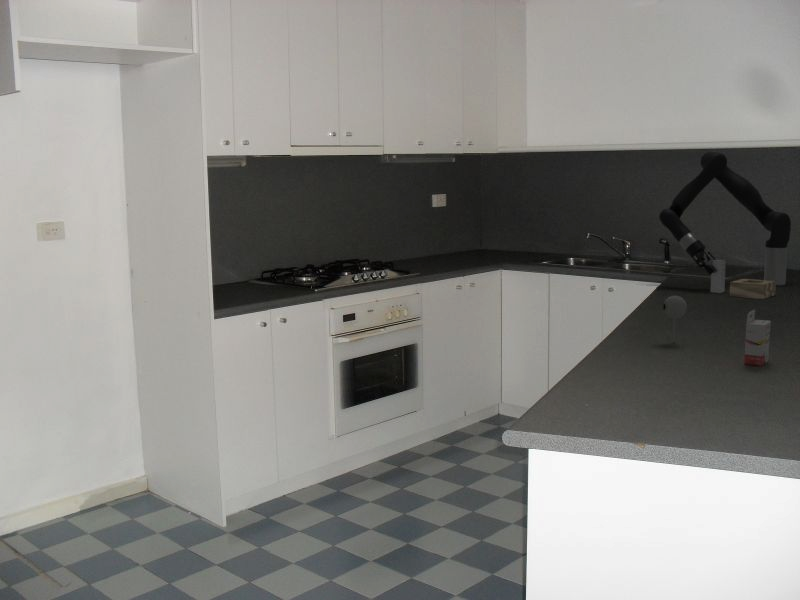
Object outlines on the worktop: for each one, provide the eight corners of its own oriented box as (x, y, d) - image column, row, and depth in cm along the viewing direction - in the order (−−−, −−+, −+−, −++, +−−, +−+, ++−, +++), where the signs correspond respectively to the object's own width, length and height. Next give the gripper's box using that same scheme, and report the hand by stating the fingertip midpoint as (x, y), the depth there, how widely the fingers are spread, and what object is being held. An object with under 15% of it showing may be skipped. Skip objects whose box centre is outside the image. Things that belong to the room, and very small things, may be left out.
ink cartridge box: (762, 366, 247) (764, 314, 244) (743, 364, 249) (746, 313, 247) (769, 360, 254) (771, 310, 251) (751, 358, 256) (753, 308, 254)
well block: (742, 292, 386) (742, 278, 385) (775, 295, 377) (775, 281, 376) (729, 296, 376) (730, 282, 375) (762, 299, 366) (763, 284, 366)
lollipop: (658, 340, 285) (660, 294, 283) (680, 339, 285) (681, 293, 283) (667, 344, 278) (668, 297, 276) (689, 344, 278) (690, 296, 276)
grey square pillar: (714, 291, 391) (715, 259, 389) (724, 291, 388) (725, 260, 386) (710, 292, 388) (711, 260, 386) (720, 293, 385) (721, 261, 383)
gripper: (690, 240, 386) (715, 268, 380) (704, 238, 397) (729, 265, 391) (679, 251, 391) (703, 279, 385) (693, 249, 401) (716, 276, 395)
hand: (716, 272), depth 388 cm, fingers open, 8 cm apart
